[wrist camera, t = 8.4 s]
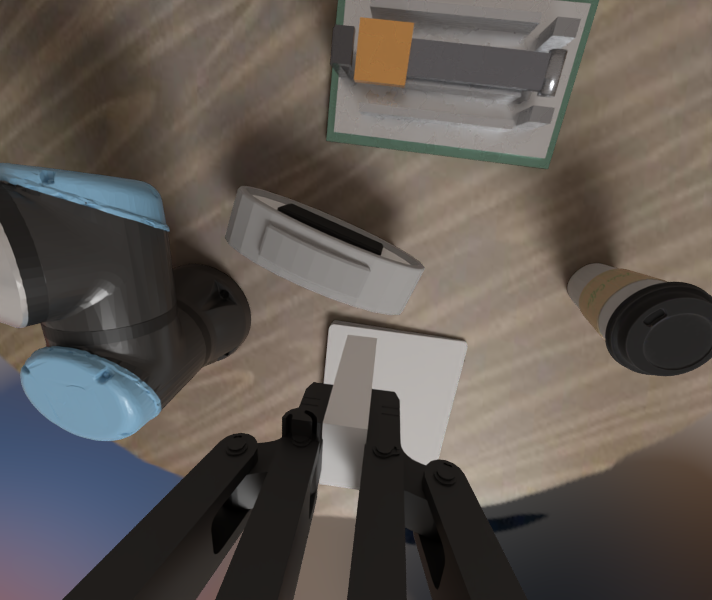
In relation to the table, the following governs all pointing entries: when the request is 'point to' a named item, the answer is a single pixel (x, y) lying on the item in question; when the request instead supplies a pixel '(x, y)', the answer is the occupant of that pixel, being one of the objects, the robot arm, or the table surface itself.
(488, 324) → the table surface
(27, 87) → the table surface
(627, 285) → the coffee cup
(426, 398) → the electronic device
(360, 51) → the orange tipped grey lever
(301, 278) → the alarm clock
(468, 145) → the heatsink
